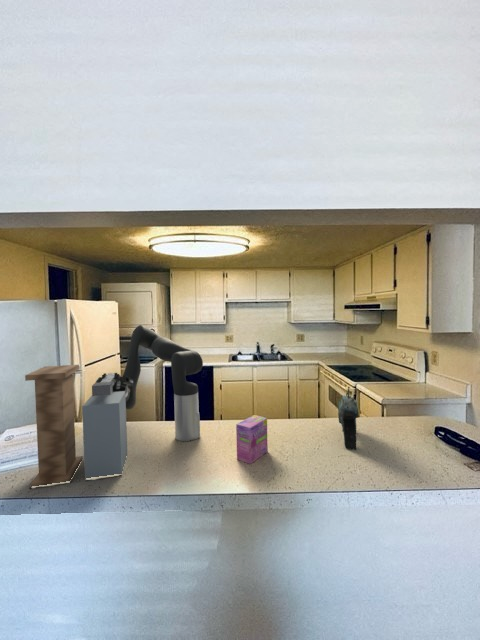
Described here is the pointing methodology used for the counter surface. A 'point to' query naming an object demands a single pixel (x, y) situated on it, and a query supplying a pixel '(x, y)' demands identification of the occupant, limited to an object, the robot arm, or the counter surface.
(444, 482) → the counter surface
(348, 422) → the dark grey upright piece
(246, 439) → the box
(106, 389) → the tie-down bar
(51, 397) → the walnut stand
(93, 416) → the slate block
